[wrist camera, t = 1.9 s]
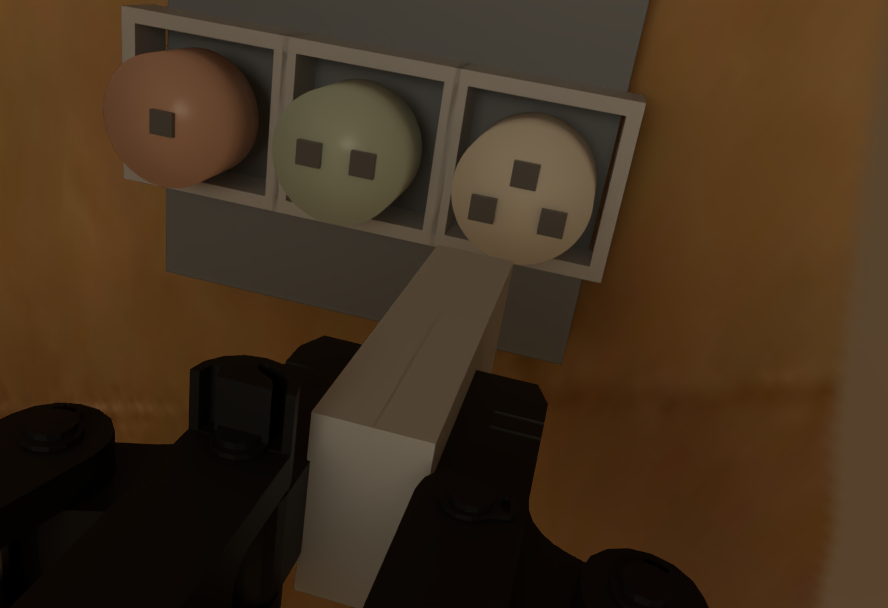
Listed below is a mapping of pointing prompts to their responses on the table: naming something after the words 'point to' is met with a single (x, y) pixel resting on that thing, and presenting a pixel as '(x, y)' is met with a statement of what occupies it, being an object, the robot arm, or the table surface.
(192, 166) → the terracotta button
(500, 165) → the cream button
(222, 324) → the table surface
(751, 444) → the table surface
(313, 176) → the sage button
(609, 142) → the panel
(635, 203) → the table surface
